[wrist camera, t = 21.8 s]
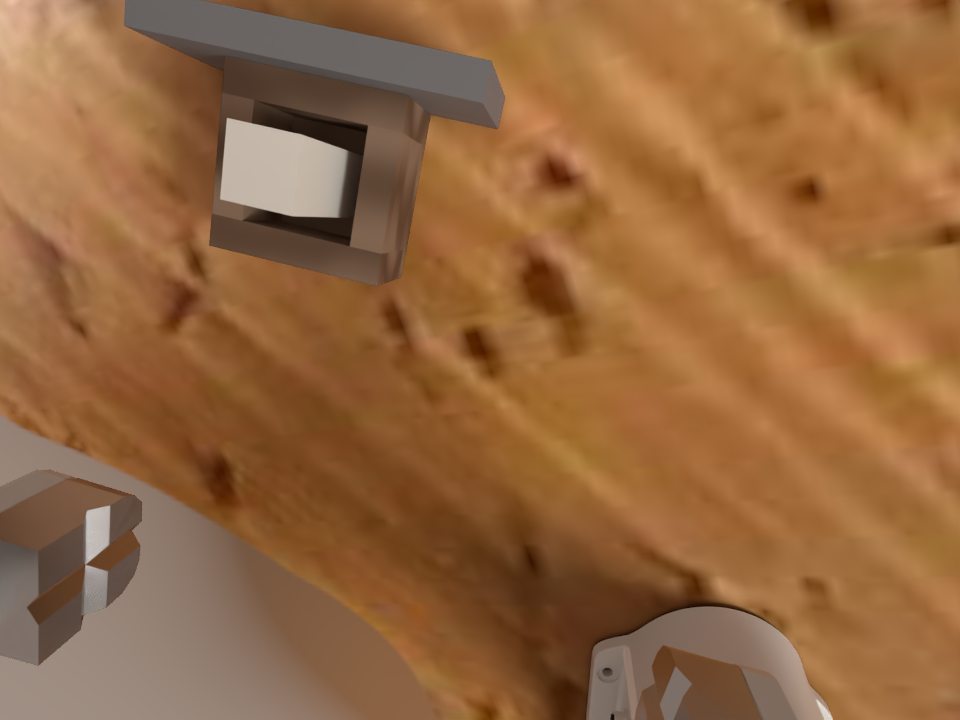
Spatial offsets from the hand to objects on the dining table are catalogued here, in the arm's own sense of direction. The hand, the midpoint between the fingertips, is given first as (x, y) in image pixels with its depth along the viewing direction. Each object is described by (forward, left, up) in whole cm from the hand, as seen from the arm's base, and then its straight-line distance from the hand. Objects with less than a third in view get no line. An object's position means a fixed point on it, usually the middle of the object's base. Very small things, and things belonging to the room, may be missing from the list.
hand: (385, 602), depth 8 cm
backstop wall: (+12, +14, -31) cm, 36 cm away
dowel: (+5, +14, -30) cm, 34 cm away
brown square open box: (+5, +14, -32) cm, 35 cm away
